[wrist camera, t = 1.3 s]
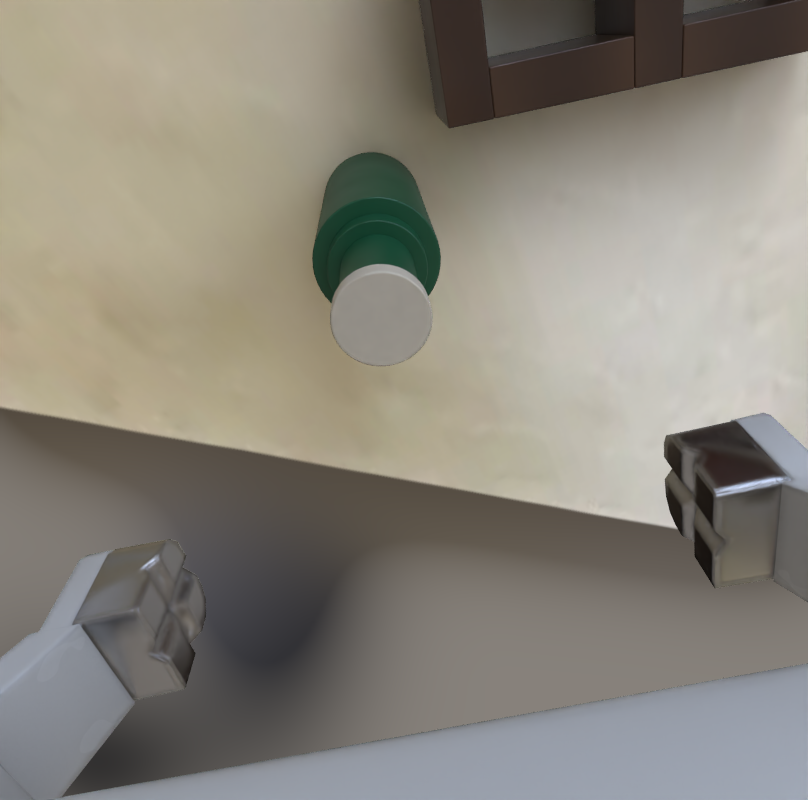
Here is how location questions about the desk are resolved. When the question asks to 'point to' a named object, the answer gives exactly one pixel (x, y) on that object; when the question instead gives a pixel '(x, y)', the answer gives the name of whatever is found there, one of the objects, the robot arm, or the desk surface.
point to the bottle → (376, 259)
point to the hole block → (598, 53)
